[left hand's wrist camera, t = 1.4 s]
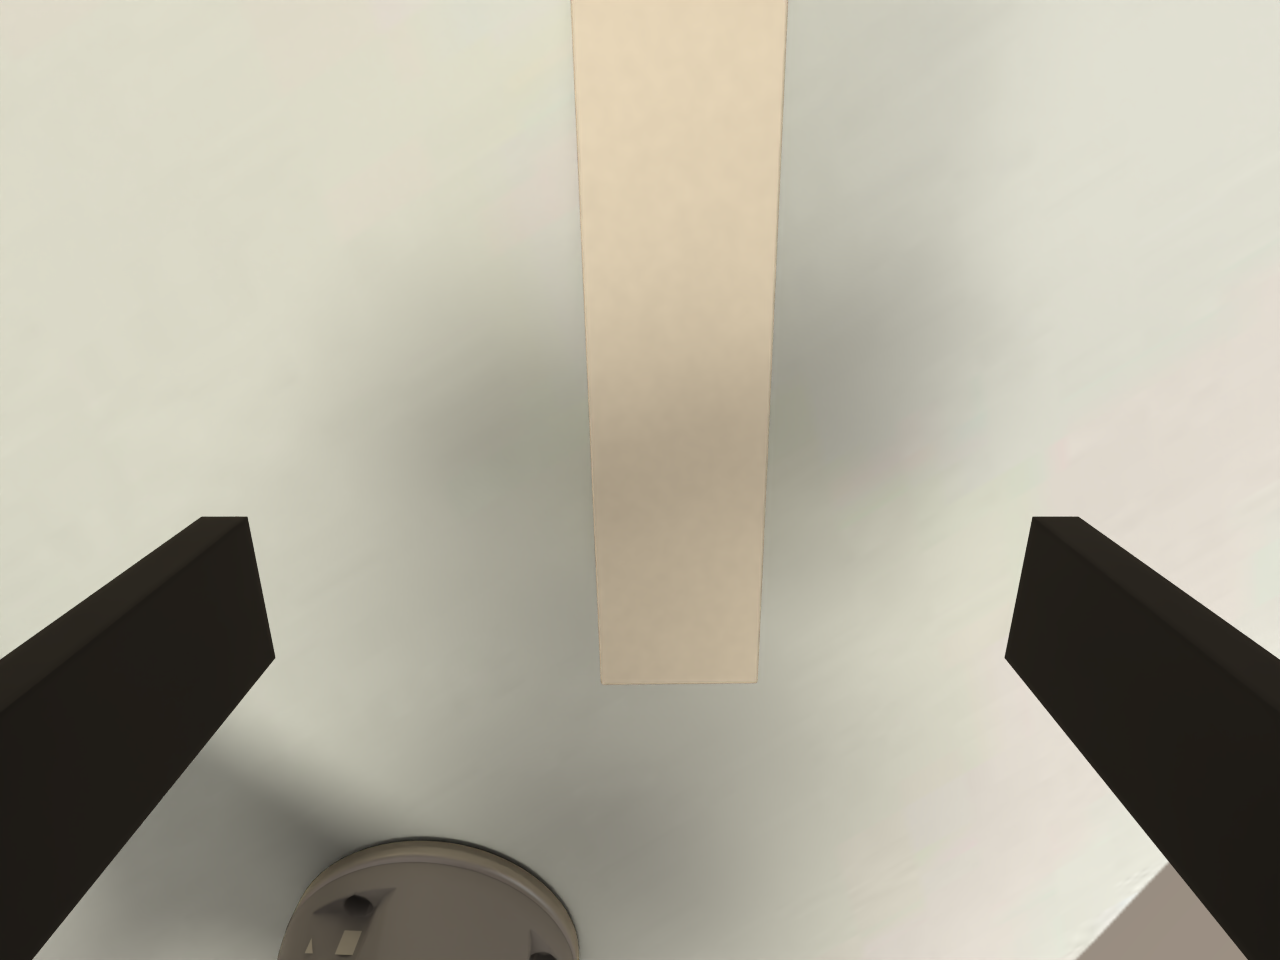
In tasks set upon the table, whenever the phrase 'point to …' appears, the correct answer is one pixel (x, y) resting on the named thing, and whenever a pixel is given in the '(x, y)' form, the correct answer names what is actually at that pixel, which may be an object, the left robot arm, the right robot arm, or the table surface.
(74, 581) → the table surface
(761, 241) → the bar
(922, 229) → the table surface
